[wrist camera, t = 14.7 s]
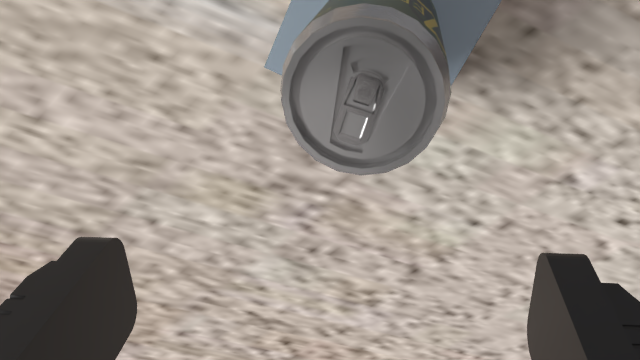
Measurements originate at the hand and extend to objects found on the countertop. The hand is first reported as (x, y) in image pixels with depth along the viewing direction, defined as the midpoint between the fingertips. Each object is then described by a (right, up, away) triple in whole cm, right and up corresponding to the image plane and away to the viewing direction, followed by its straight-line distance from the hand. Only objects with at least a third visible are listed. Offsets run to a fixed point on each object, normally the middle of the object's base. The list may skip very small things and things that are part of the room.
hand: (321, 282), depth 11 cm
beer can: (+3, +10, +17) cm, 20 cm away
